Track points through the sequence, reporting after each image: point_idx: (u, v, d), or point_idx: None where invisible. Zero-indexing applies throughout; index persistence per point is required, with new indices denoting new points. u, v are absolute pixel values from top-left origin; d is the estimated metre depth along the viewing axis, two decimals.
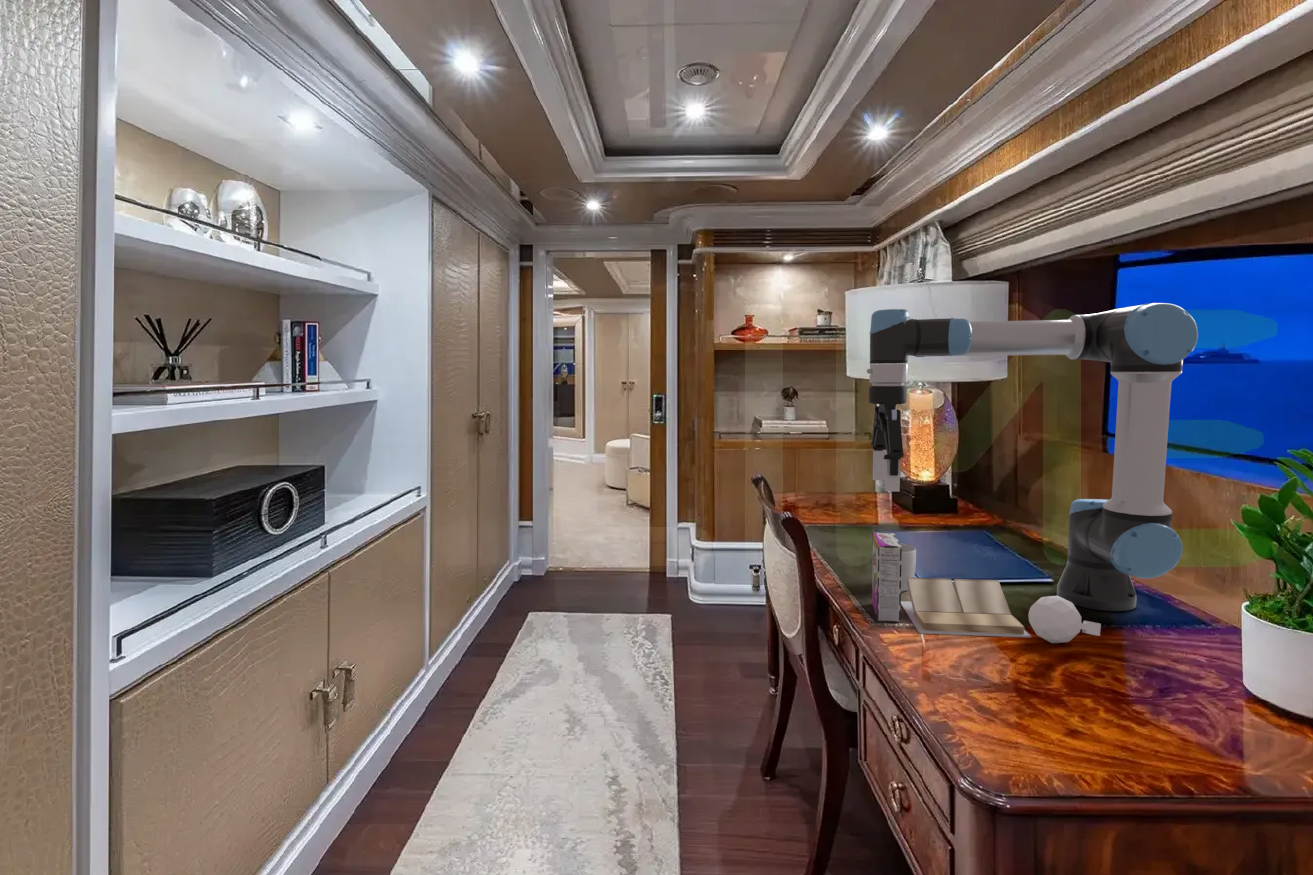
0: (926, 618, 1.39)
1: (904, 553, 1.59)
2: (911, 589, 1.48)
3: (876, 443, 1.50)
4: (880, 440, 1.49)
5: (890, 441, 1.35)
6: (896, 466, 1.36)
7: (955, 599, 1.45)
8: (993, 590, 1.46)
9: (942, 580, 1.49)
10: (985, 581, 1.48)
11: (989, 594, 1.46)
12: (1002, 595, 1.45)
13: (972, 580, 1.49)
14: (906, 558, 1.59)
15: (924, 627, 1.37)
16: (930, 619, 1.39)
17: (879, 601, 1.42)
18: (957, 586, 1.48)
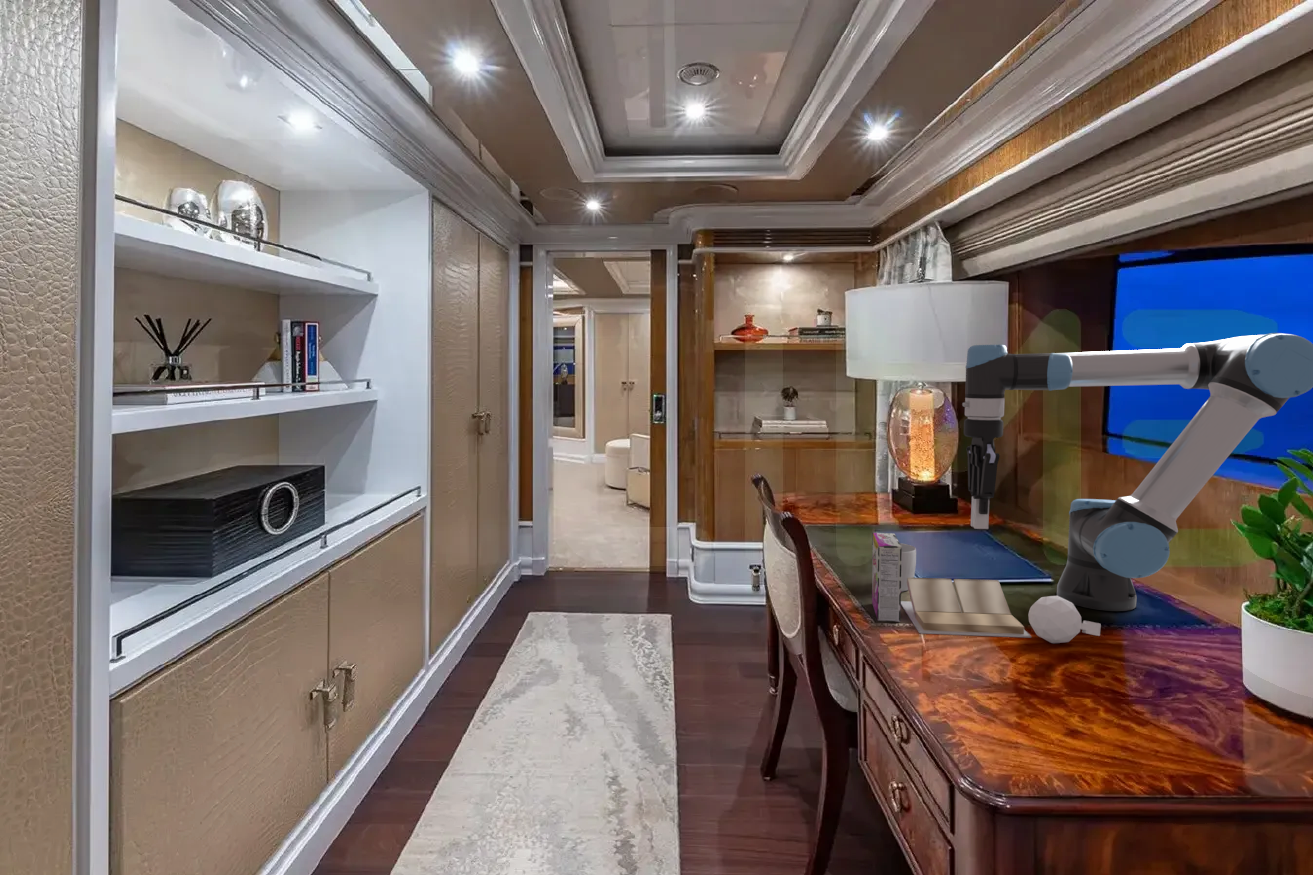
0: (926, 618, 1.39)
1: (904, 553, 1.59)
2: (911, 589, 1.48)
3: (974, 485, 1.47)
4: None
5: (983, 484, 1.41)
6: (986, 505, 1.44)
7: (955, 599, 1.45)
8: (993, 590, 1.46)
9: (942, 580, 1.49)
10: (985, 581, 1.48)
11: (989, 594, 1.46)
12: (1002, 595, 1.45)
13: (972, 580, 1.49)
14: (906, 558, 1.59)
15: (924, 627, 1.37)
16: (930, 619, 1.39)
17: (879, 601, 1.42)
18: (957, 586, 1.48)
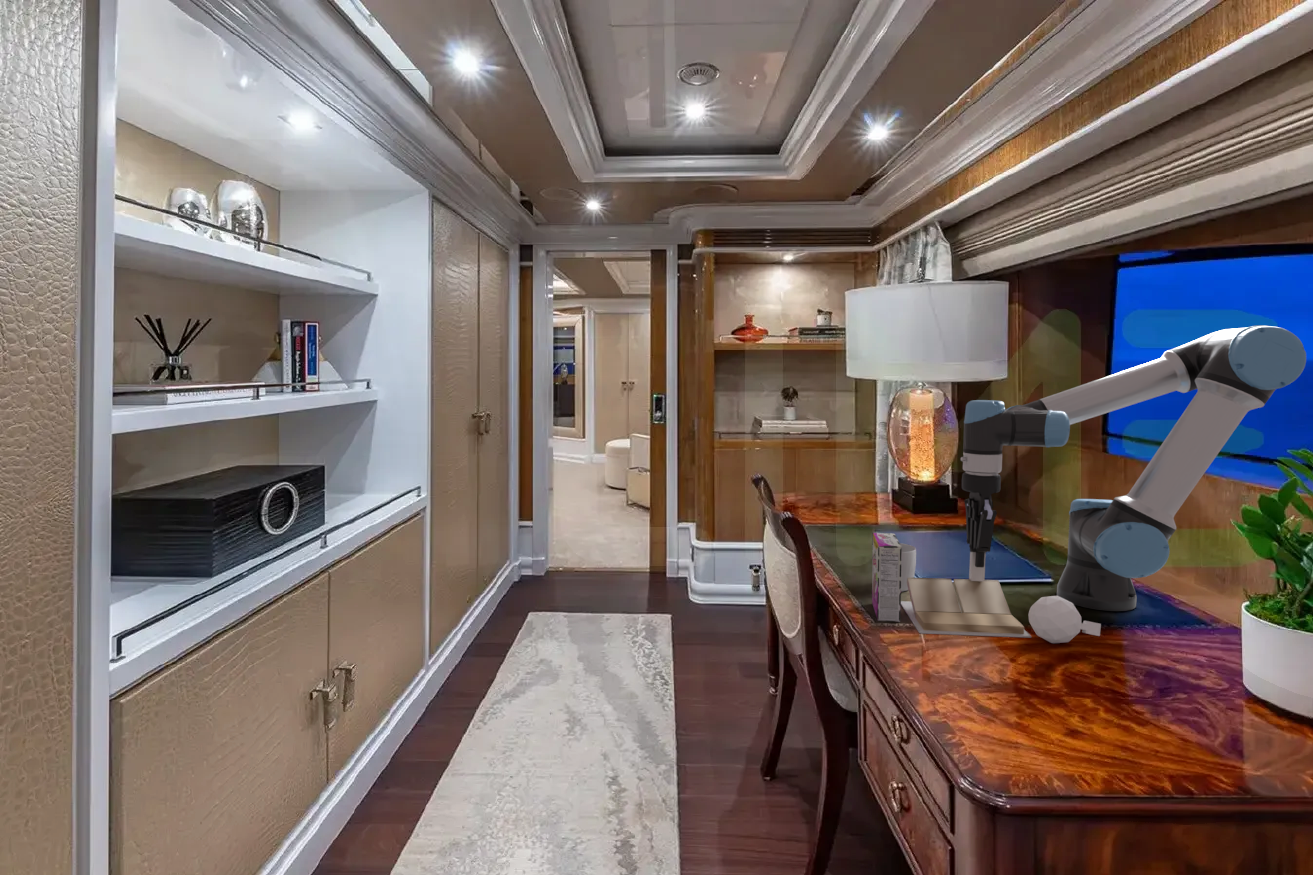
0: (926, 618, 1.39)
1: (904, 553, 1.59)
2: (911, 589, 1.48)
3: (973, 538, 1.48)
4: None
5: (980, 539, 1.43)
6: (982, 559, 1.46)
7: (955, 599, 1.45)
8: (993, 590, 1.46)
9: (942, 580, 1.49)
10: (985, 581, 1.48)
11: (989, 594, 1.46)
12: (1002, 595, 1.45)
13: None
14: (906, 558, 1.59)
15: (924, 627, 1.37)
16: (930, 619, 1.39)
17: (879, 601, 1.42)
18: (957, 586, 1.48)
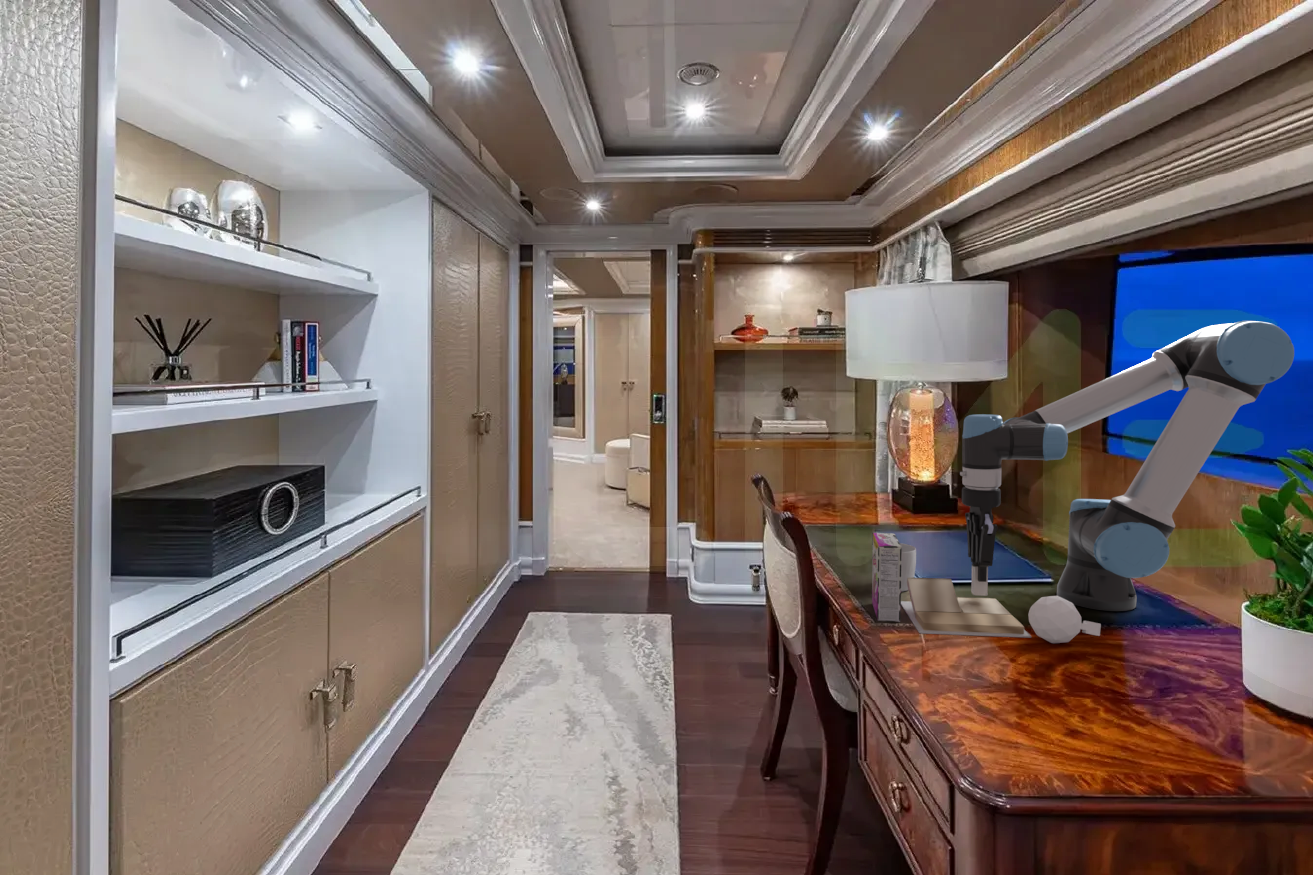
0: (926, 618, 1.39)
1: (904, 553, 1.59)
2: (911, 589, 1.48)
3: (974, 552, 1.48)
4: None
5: (982, 553, 1.43)
6: (984, 573, 1.46)
7: (955, 599, 1.45)
8: (991, 603, 1.47)
9: (942, 580, 1.49)
10: (982, 598, 1.50)
11: (987, 604, 1.47)
12: (1000, 605, 1.46)
13: None
14: (906, 558, 1.59)
15: (924, 627, 1.37)
16: (930, 619, 1.39)
17: (879, 601, 1.42)
18: None
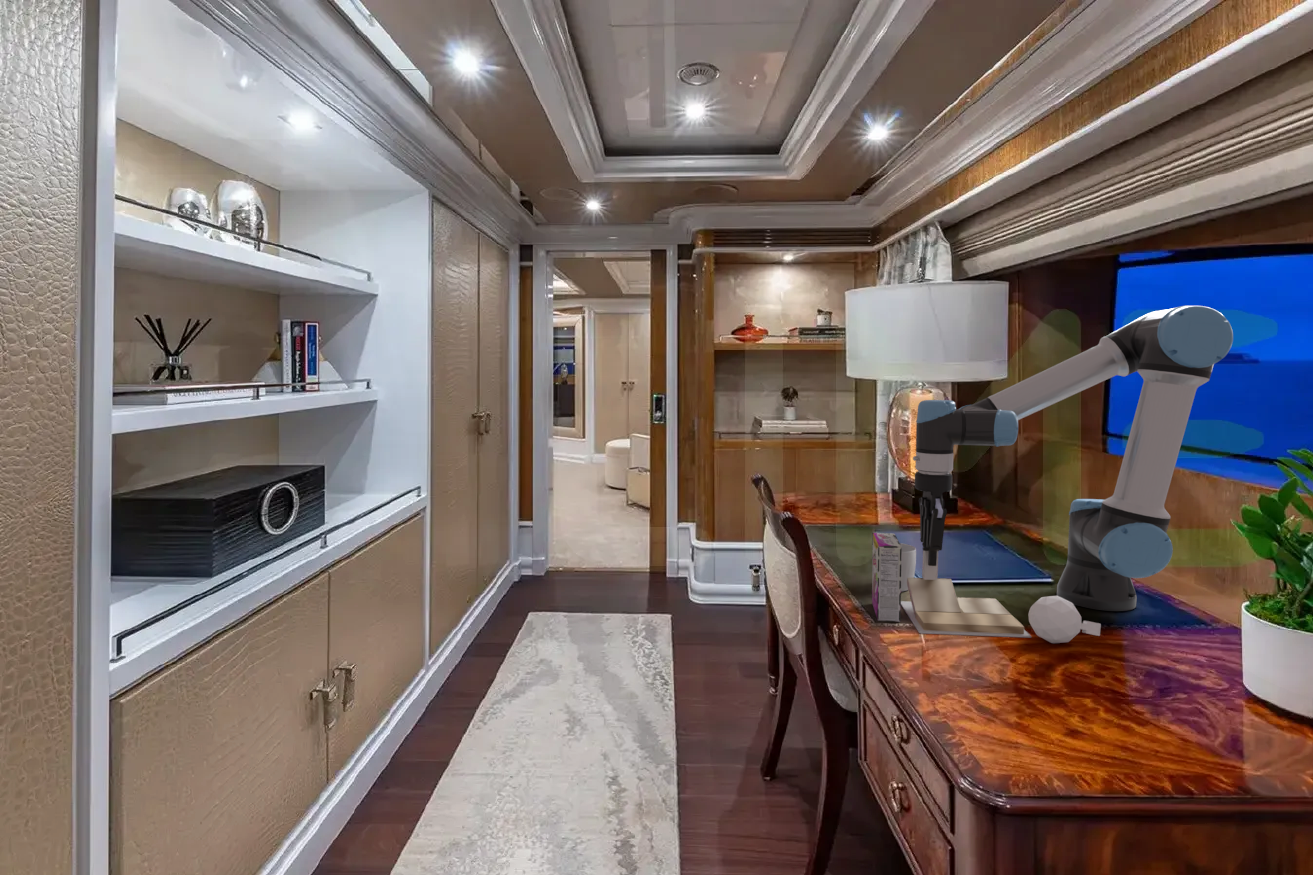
0: (926, 618, 1.39)
1: (904, 553, 1.59)
2: (911, 589, 1.48)
3: (925, 536, 1.50)
4: None
5: (931, 537, 1.44)
6: (934, 557, 1.47)
7: (955, 599, 1.45)
8: (991, 603, 1.47)
9: (942, 580, 1.49)
10: (982, 598, 1.50)
11: (987, 604, 1.47)
12: (1000, 605, 1.46)
13: None
14: (906, 558, 1.59)
15: (924, 627, 1.37)
16: (930, 619, 1.39)
17: (879, 601, 1.42)
18: None
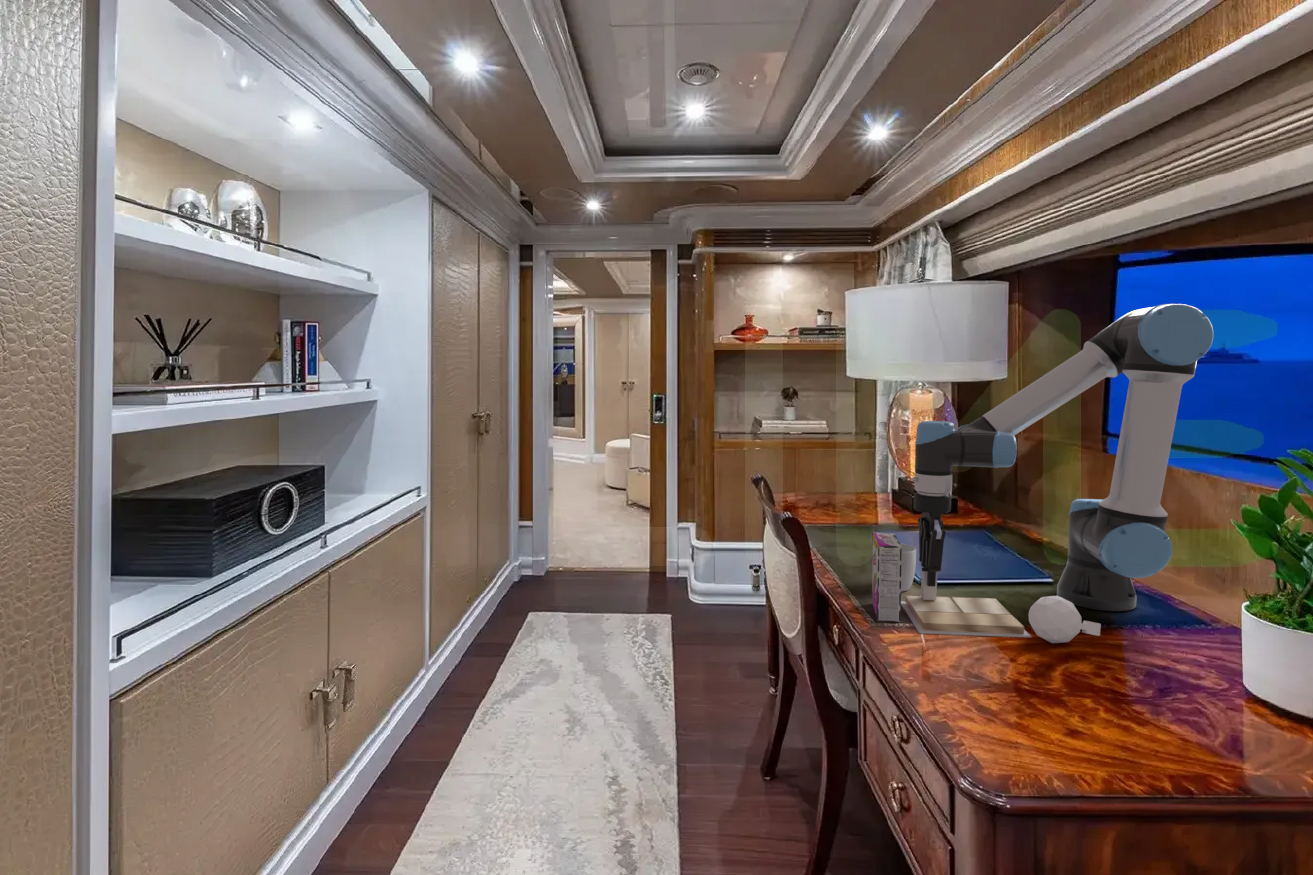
0: (926, 618, 1.39)
1: (904, 553, 1.59)
2: (910, 601, 1.49)
3: (924, 557, 1.50)
4: None
5: (930, 558, 1.45)
6: (933, 578, 1.47)
7: (954, 606, 1.46)
8: (991, 603, 1.47)
9: (940, 597, 1.51)
10: (982, 598, 1.50)
11: (987, 604, 1.47)
12: (1000, 605, 1.46)
13: None
14: (906, 558, 1.59)
15: (924, 627, 1.37)
16: (930, 619, 1.39)
17: (879, 601, 1.42)
18: (955, 600, 1.49)
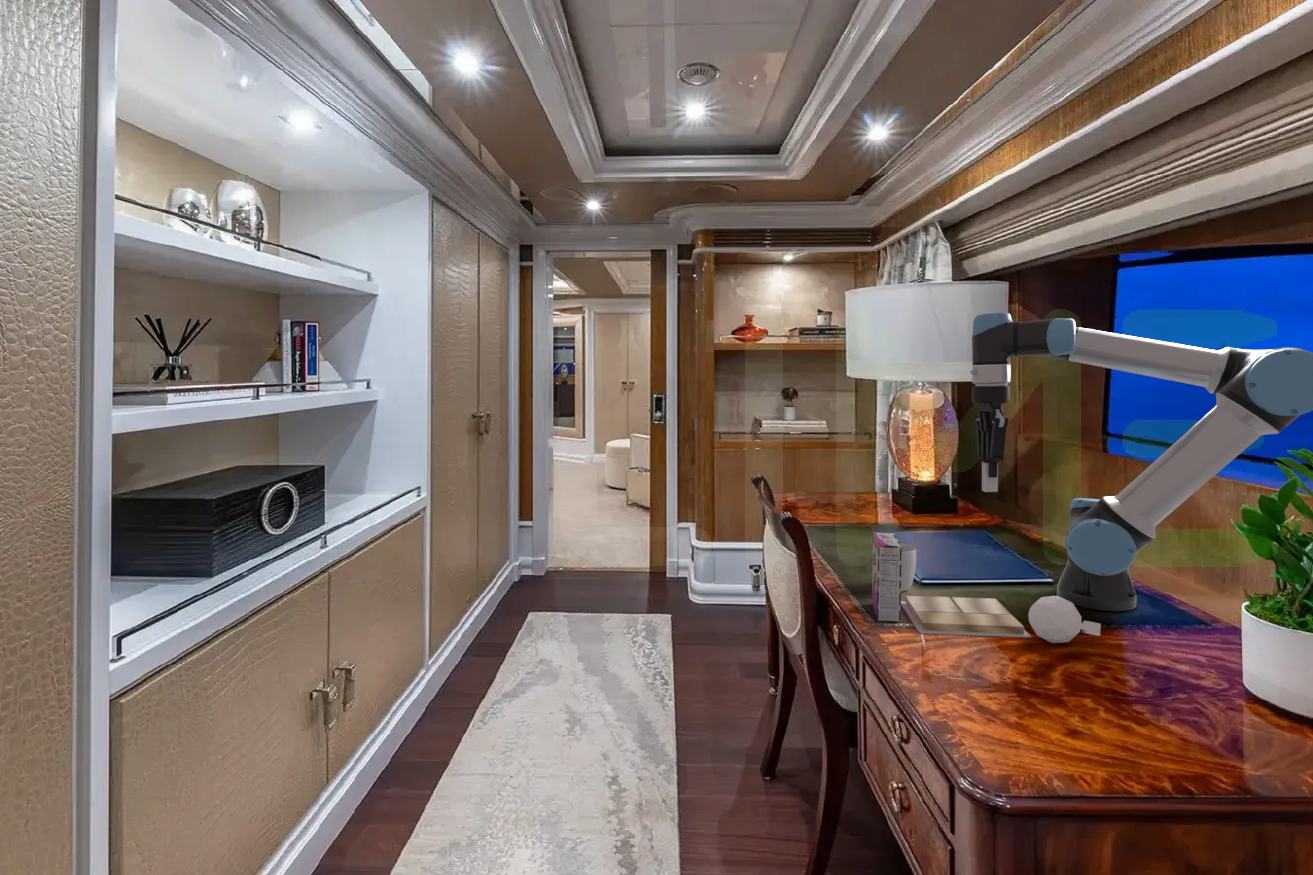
0: (926, 618, 1.39)
1: (904, 553, 1.59)
2: (910, 601, 1.49)
3: (984, 450, 1.52)
4: None
5: (993, 448, 1.47)
6: (995, 469, 1.49)
7: (954, 606, 1.46)
8: (991, 603, 1.47)
9: (940, 597, 1.51)
10: (982, 598, 1.50)
11: (987, 604, 1.47)
12: (1000, 605, 1.46)
13: None
14: (906, 558, 1.59)
15: (924, 627, 1.37)
16: (930, 619, 1.39)
17: (879, 601, 1.42)
18: (955, 600, 1.49)
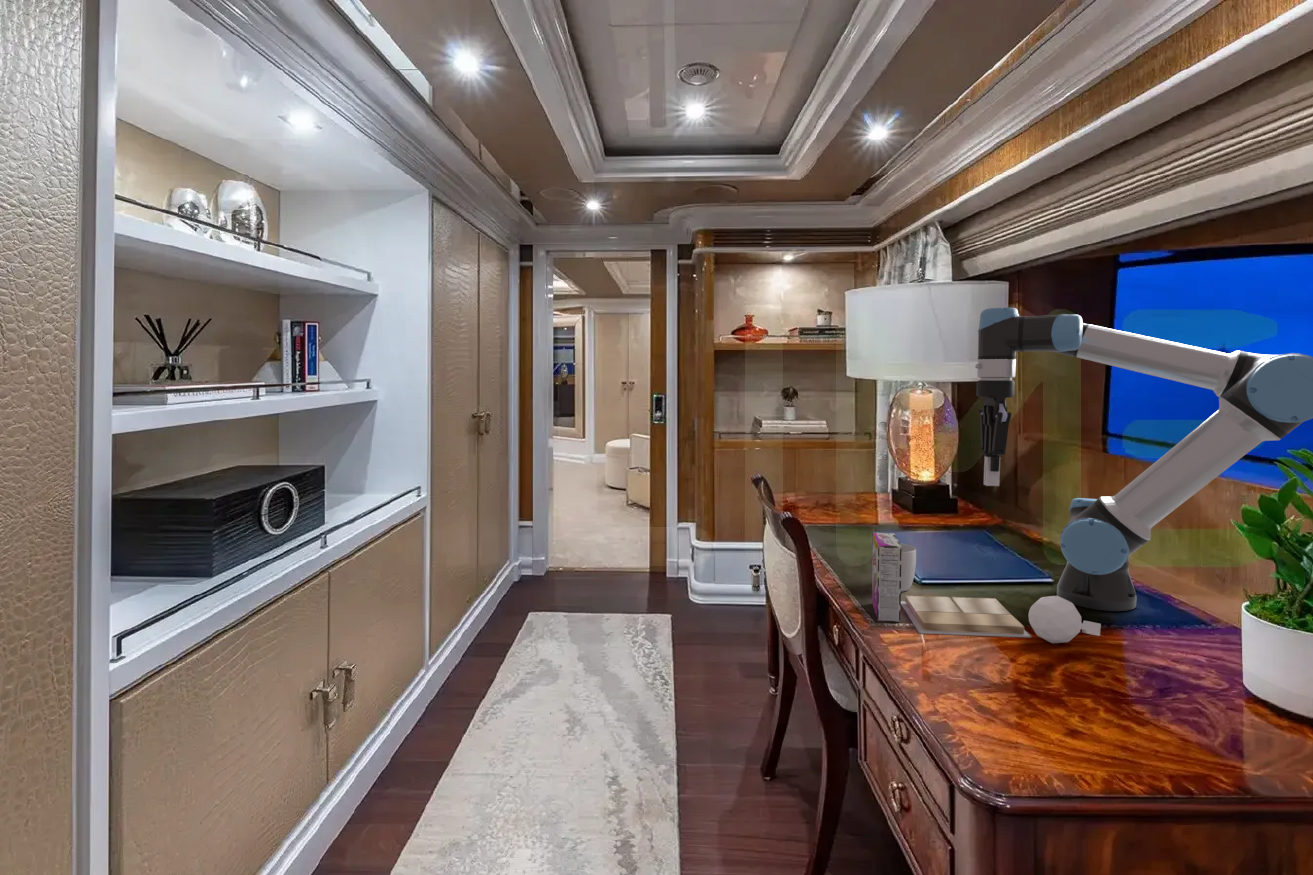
0: (926, 618, 1.39)
1: (904, 553, 1.59)
2: (910, 601, 1.49)
3: (987, 444, 1.53)
4: None
5: (995, 442, 1.48)
6: (997, 463, 1.50)
7: (954, 606, 1.46)
8: (991, 603, 1.47)
9: (940, 597, 1.51)
10: (982, 598, 1.50)
11: (987, 604, 1.47)
12: (1000, 605, 1.46)
13: None
14: (906, 558, 1.59)
15: (924, 627, 1.37)
16: (930, 619, 1.39)
17: (879, 601, 1.42)
18: (955, 600, 1.49)
